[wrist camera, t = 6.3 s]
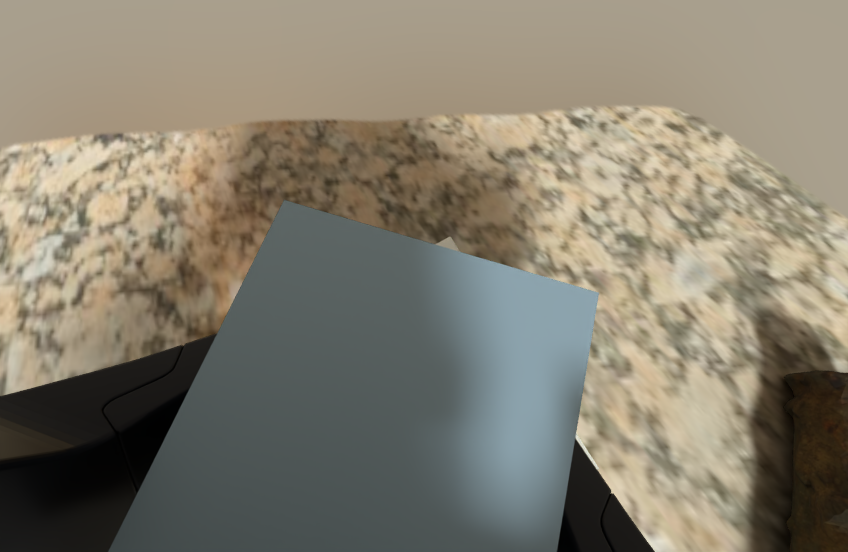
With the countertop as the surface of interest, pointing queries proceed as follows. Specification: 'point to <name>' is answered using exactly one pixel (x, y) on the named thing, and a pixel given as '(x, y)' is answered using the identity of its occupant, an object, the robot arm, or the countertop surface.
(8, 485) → the robot arm
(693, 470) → the countertop surface
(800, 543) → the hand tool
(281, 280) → the blue block
